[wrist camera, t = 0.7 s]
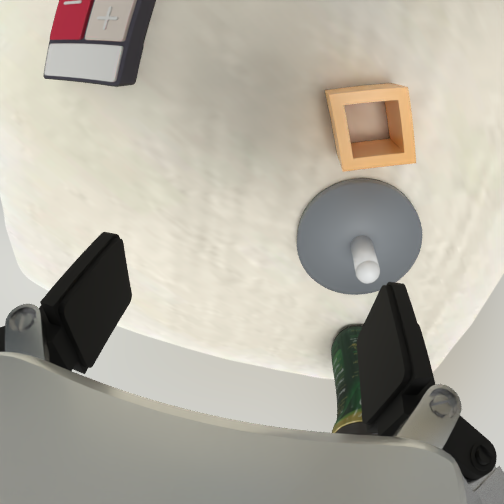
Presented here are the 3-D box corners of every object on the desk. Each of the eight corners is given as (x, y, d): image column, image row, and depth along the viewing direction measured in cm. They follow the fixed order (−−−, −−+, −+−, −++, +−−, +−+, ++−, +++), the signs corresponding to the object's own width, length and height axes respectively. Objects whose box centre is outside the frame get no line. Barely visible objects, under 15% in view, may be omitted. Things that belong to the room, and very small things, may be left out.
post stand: (417, 171, 28) (443, 201, 22) (415, 278, 35) (430, 319, 29) (285, 188, 31) (280, 222, 26) (307, 292, 39) (306, 335, 33)
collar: (391, 83, 23) (407, 87, 19) (400, 147, 27) (416, 163, 23) (324, 90, 25) (328, 95, 21) (337, 154, 28) (342, 171, 24)
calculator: (157, -54, 16) (114, 88, 24) (174, -41, 19) (136, 85, 27) (70, -44, 15) (37, 79, 23) (91, -37, 19) (61, 75, 27)
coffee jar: (326, 354, 45) (322, 468, 30) (340, 319, 41) (343, 448, 25) (383, 360, 44) (392, 468, 29) (403, 327, 40) (424, 446, 25)
